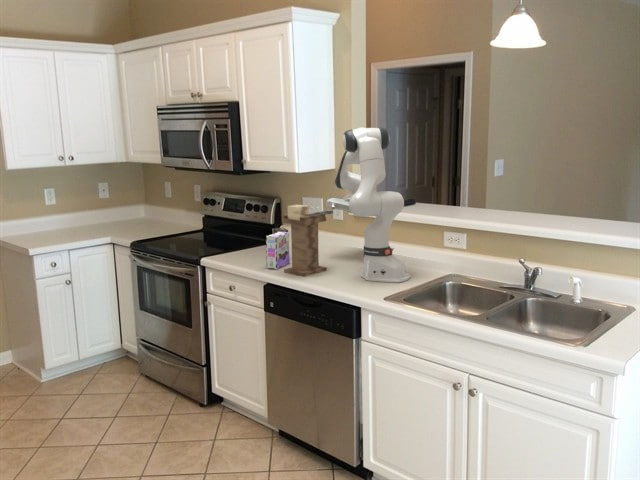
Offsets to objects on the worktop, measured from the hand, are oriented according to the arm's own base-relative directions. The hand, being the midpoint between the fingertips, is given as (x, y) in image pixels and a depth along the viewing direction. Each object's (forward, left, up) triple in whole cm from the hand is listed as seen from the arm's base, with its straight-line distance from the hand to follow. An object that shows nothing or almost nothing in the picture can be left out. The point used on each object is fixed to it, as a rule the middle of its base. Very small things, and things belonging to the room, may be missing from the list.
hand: (341, 209), depth 295 cm
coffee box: (+32, +7, -27) cm, 43 cm away
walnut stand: (+7, +24, -27) cm, 37 cm away
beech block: (+6, +18, -1) cm, 19 cm away
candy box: (+24, +21, -27) cm, 42 cm away
